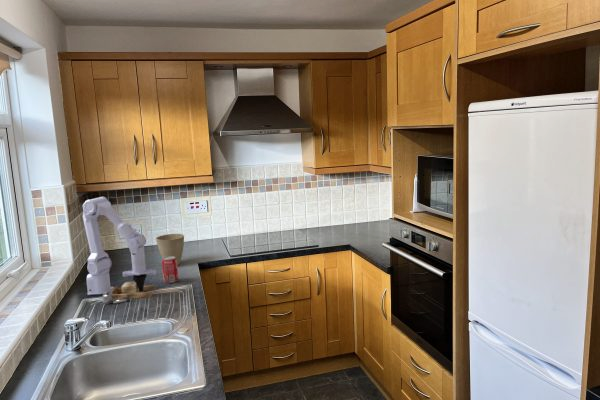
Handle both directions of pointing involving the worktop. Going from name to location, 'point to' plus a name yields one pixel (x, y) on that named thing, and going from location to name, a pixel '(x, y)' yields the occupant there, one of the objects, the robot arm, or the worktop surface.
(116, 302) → the crank handle
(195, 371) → the worktop surface
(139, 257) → the robot arm
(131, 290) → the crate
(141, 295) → the bay
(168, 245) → the plant pot
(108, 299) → the winch drum
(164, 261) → the soda can
